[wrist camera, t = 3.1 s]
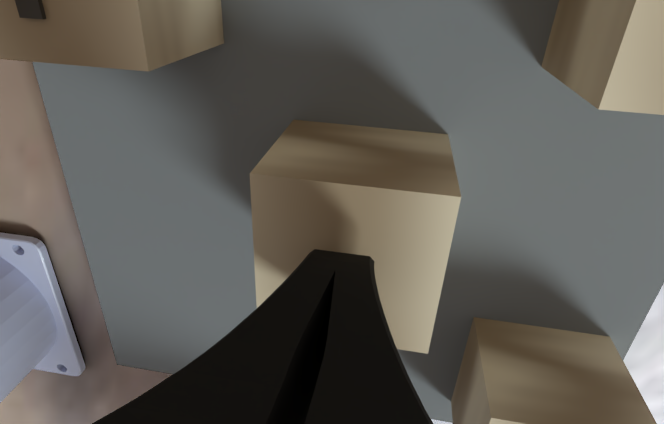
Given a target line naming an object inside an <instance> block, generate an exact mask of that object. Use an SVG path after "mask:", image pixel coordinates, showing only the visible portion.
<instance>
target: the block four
mask: <svg viewBox="0 0 664 424" xmlns="http://www.w3.org/2000/svg"><path fill="white" fill-rule="evenodd" d="M451 407H452V419H453V424H657V423H656V422H655V420H654V418H653V416H652V414H651V412H650V410H649V409H648V407H647V405H646V403H645V401H644V399H643V397H642V396H641V394H640V392H639V390H638V388H637V386H636V384H635V383H634V381H633V379H632V377H631V375H630V373H629V371H628V369H627V368H626V366H625V364H624V362H623V360H622V358H621V356H620V355H619V353H618V351H617V349H616V347H615V345H614V343H613V342H612V340H611V338H610V337H609V336H602V335H595V334H588V333H581V332H574V331H567V330H560V329H553V328H546V327H539V326H532V325H525V324H518V323H511V322H504V321H497V320H490V319H483V318H476V317H474V318H473V322H472V326H471V329H470V333H469V337H468V340H467V344H466V348H465V352H464V355H463V359H462V363H461V366H460V370H459V374H458V377H457V381H456V385H455V389H454V392H453V396H452V400H451Z"/></svg>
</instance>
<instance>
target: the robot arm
mask: <svg viewBox="0 0 664 424" xmlns="http://www.w3.org/2000/svg"><path fill="white" fill-rule="evenodd" d="M32 369H36V370H42V371H48V372H53V373H59V374H64V375H70V376H79V375H81V374H82V372H83V371H84V370H85V363H84V360H83V357H82V354H81V351H80V348H79V345H78V342H77V339H76V336H75V333H74V330H73V327H72V324H71V321H70V318H69V315H68V312H67V309H66V306H65V303H64V300H63V297H62V294H61V291H60V288H59V285H58V282H57V279H56V276H55V273H54V270H53V267H52V264H51V261H50V258H49V255H48V252H47V249H46V246H45V245H44V243H43V242H42V241H41V240H39V239H37V238H34V237H29V236H22V235H15V234H8V233H0V403H1V402H2V401H3V399H4V398H5V397H6V396H7V395H8V394H9V393H10V392H11V391H12V390H13V389H14V388H15V387H16V386H17V385H18V384H19V383H20V382H21V381H22V380H23V379H24V378H25V377H26V376H27V375H28V373H29V372H30V371H31V370H32ZM92 424H433V422H432V421H431V419H430V417H429V415H428V413H427V412H426V410H425V408H424V406H423V404H422V402H421V400H420V398H419V396H418V394H417V392H416V390H415V388H414V386H413V384H412V382H411V380H410V378H409V376H408V373H407V371H406V369H405V367H404V365H403V362H402V360H401V357H400V355H399V353H398V350H397V348H396V345H395V343H394V340H393V337H392V335H391V332H390V329H389V326H388V323H387V320H386V317H385V314H384V311H383V308H382V305H381V301H380V297H379V293H378V289H377V285H376V279H375V272H374V260H373V259H372V258H371V257H370V256H365V255H357V254H349V253H341V252H333V251H326V250H318V249H314V250H313V251H311V252H310V253H309V254H308V255H307V256H306V258H305V259H304V260H303V261H302V262H301V263H300V265H299V266H298V267H297V268H296V269H295V270H294V271H293V272H292V273H291V275H290V276H289V277H288V278H287V279H286V280H285V281H284V282H283V283H282V284H281V285H280V286H279V287H278V288H277V289H276V290H275V291H274V292H273V293H272V294H271V295H270V296H269V297H268V298H267V299H266V300H265V301H264V302H263V303H262V304H261V305H260V306H259V307H258V308H257V309H256V310H254V311H253V312H252V313H251V314H250V315H249V316H248V317H246V318H245V319H244V320H243V321H242V322H241V323H240V324H238V325H237V326H236V327H235V328H234V329H233V330H232V331H230V332H229V333H228V334H227V335H226V336H224V337H223V338H222V339H221V340H219V341H218V342H217V343H216V344H214V345H213V346H212V347H211V348H209V349H208V350H207V351H205V352H204V353H203V354H201V355H200V356H199V357H197V358H196V359H194V360H193V361H192V362H190V363H189V364H188V365H186V366H185V367H183V368H182V369H180V370H179V371H177V372H176V373H174V374H173V375H171V376H170V377H168V378H167V379H165V380H164V381H162V382H161V383H159V384H158V385H156V386H155V387H153V388H152V389H150V390H149V391H147V392H146V393H144V394H142V395H141V396H139V397H138V398H136V399H134V400H133V401H131V402H129V403H128V404H126V405H124V406H123V407H121V408H119V409H117V410H116V411H114V412H112V413H110V414H108V415H107V416H105V417H103V418H101V419H100V420H98V421H96V422H94V423H92Z"/></svg>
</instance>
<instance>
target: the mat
mask: <svg viewBox="0 0 664 424" xmlns="http://www.w3.org/2000/svg"><path fill="white" fill-rule="evenodd" d="M558 3H559V0H221V8H222V22H223V36H224V44H221V45H218V46H216V47H213V48H210V49H208V50H205V51H202V52H200V53H197V54H194V55H192V56H189V57H186V58H184V59H181V60H178V61H175V62H173V63H170V64H167V65H165V66H162V67H159V68H157V69H154V70H151V71H137V70H125V69H113V68H101V67H89V66H78V65H66V64H54V63H42V62H33V66H34V70H35V73H36V77H37V80H38V84H39V87H40V91H41V94H42V98H43V102H44V105H45V109H46V112H47V116H48V119H49V123H50V127H51V130H52V134H53V137H54V141H55V144H56V148H57V152H58V155H59V159H60V162H61V166H62V169H63V173H64V177H65V180H66V184H67V187H68V191H69V194H70V198H71V202H72V205H73V209H74V212H75V216H76V219H77V223H78V227H79V230H80V234H81V237H82V241H83V244H84V248H85V252H86V255H87V259H88V262H89V266H90V269H91V273H92V276H93V280H94V284H95V287H96V291H97V294H98V298H99V301H100V305H101V309H102V312H103V316H104V319H105V323H106V326H107V330H108V334H109V337H110V341H111V344H112V348H113V351H114V355H115V359H116V362H117V365H123V366H129V367H134V368H140V369H146V370H152V371H157V372H163V373H169V374H174V373H176V372H177V371H179V370H180V369H182V368H183V367H185V366H186V365H188V364H189V363H190V362H192V361H193V360H194V359H196V358H197V357H199V356H200V355H201V354H203V353H204V352H205V351H207V350H208V349H209V348H211V347H212V346H213V345H214V344H216V343H217V342H218V341H219V340H221V339H222V338H223V337H224V336H226V335H227V334H228V333H229V332H230V331H232V330H233V329H234V328H235V327H236V326H237V325H238V324H240V323H241V322H242V321H243V320H244V319H245V318H246V317H248V316H249V315H250V314H251V313H252V312H253V311H254V310H256V309H257V305H256V286H255V267H254V248H253V229H252V209H251V190H250V172H251V171H252V170H253V169H254V168H255V166H256V165H257V164H258V163H259V161H260V160H261V159H262V158H263V157H264V155H265V154H266V153H267V152H268V150H269V149H270V148H271V147H272V146H273V144H274V143H275V142H276V141H277V139H278V138H279V137H280V136H281V135H282V133H283V132H284V131H285V130H286V128H287V127H288V126H289V125H290V124H291V122H292V121H293V120H302V121H313V122H324V123H334V124H345V125H355V126H366V127H376V128H387V129H397V130H408V131H419V132H429V133H440V134H448V136H449V141H450V146H451V150H452V155H453V160H454V165H455V170H456V174H457V179H458V184H459V189H460V193H461V201H460V205H459V210H458V215H457V220H456V224H455V229H454V234H453V238H452V243H451V248H450V252H449V257H448V262H447V266H446V271H445V276H444V281H443V285H442V290H441V295H440V299H439V304H438V309H437V313H436V318H435V323H434V328H433V332H432V337H431V342H430V346H429V351H428V354H426V353H419V352H413V351H407V350H400V349H397V350H398V353H399V355H400V357H401V360H402V362H403V365H404V367H405V369H406V371H407V373H408V376H409V378H410V380H411V382H412V384H413V386H414V388H415V390H416V392H417V394H418V396H419V398H420V400H421V402H422V404H423V406H424V408H425V410H426V412H427V413H428V415H429V417H430V419H435V420H440V421H446V422H452V423H453V419H452V407H451V400H452V396H453V392H454V389H455V385H456V381H457V377H458V374H459V370H460V366H461V363H462V359H463V355H464V352H465V348H466V344H467V340H468V337H469V333H470V329H471V326H472V322H473V318H474V317H476V318H483V319H490V320H497V321H504V322H511V323H518V324H525V325H532V326H539V327H546V328H553V329H560V330H567V331H574V332H581V333H588V334H595V335H602V336H609V337H610V338H611V340H612V342H613V343H614V345H615V347H616V349H617V351H618V353H619V355H620V356H621V358H622V360H623V359H624V357H625V355H626V354H627V352H628V350H629V348H630V346H631V344H632V342H633V340H634V338H635V336H636V334H637V333H638V331H639V329H640V327H641V325H642V323H643V321H644V319H645V317H646V315H647V314H648V312H649V310H650V308H651V306H652V304H653V302H654V300H655V298H656V296H657V295H658V293H659V291H660V289H661V287H662V285H663V283H664V115H658V114H646V113H634V112H622V111H611V110H599V109H597V108H596V107H594V106H593V105H592V104H590V103H589V102H588V101H586V100H585V99H584V98H582V97H581V96H580V95H578V94H577V93H576V92H574V91H573V90H572V89H570V88H569V87H567V86H566V85H565V84H563V83H562V82H561V81H559V80H558V79H557V78H555V77H554V76H553V75H551V74H550V73H549V72H547V71H546V70H545V69H543V68H542V67H541V66H542V62H543V59H544V55H545V51H546V47H547V44H548V40H549V36H550V33H551V29H552V25H553V21H554V18H555V14H556V10H557V7H558Z"/></svg>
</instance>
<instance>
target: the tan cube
mask: <svg viewBox="0 0 664 424" xmlns="http://www.w3.org/2000/svg"><path fill="white" fill-rule="evenodd" d="M221 44H224V36H223V22H222V8H221V0H0V59H7V60H18V61H30V62H42V63H54V64H66V65H78V66H89V67H101V68H113V69H125V70H137V71H151V70H154V69H157V68H159V67H162V66H165V65H167V64H170V63H173V62H175V61H178V60H181V59H184V58H186V57H189V56H192V55H194V54H197V53H200V52H202V51H205V50H208V49H210V48H213V47H216V46H218V45H221Z"/></svg>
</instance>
